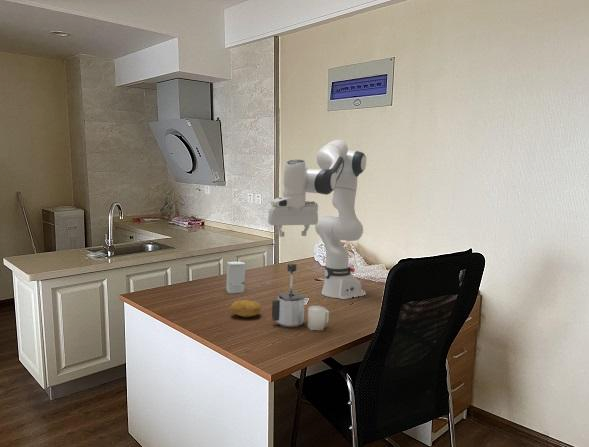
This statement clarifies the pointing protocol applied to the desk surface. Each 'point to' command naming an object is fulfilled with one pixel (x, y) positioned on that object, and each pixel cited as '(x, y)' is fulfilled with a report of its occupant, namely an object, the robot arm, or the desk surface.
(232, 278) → the skincare box
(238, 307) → the potato
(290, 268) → the plunger
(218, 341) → the desk surface
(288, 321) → the carafe
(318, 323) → the white ceramic cylinder
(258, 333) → the desk surface
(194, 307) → the desk surface
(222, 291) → the desk surface
